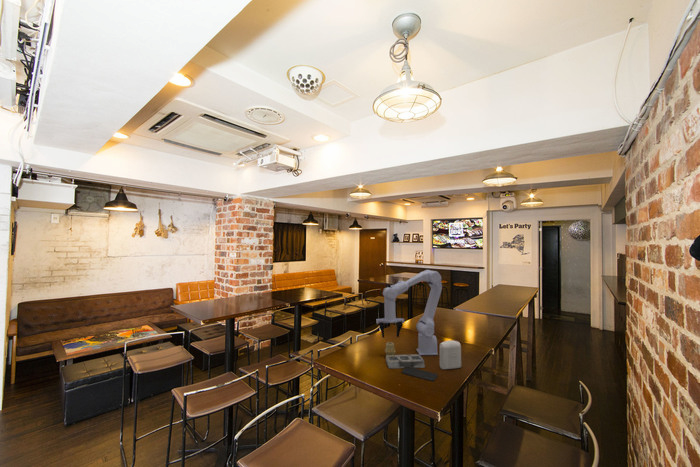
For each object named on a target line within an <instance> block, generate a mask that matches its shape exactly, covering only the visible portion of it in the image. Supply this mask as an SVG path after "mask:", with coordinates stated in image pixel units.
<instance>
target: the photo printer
mask: <svg viewBox="0 0 700 467" xmlns="http://www.w3.org/2000/svg"><path fill="white" fill-rule="evenodd" d="M438 351H439V368H440V369H441V370H451V369H459V368H460V369H461V368H462V345H461V343H460V342H459V341H458V340H444V341H443V342H440V343H439V350H438Z"/></svg>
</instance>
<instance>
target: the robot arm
mask: <svg viewBox="0 0 700 467" xmlns="http://www.w3.org/2000/svg"><path fill="white" fill-rule="evenodd" d="M420 282H426V283H427V284H428V286H429V287H430V291H429V294H428V299H427V301H426V306H425V309H424V313H423V315H422V316H421V317H420V318H419V320H418V322H417V323H416V327H415V328H416V330H417V331H418V338H417V339H418V340H417V341H418V343H417V344H418V348H416V351H417V353H418V354H420V356H438V355H439V354H438V339H437V336H436V335H434V334H435V322H434V317H435V315H436V314H435V313H436V312H437V306H438V303H439V299H440V298H441V294H442V290H443V283H442V276H441V274H440V273H439V272H438V271H437V270H431V269H425V270H424V271H421V272H419V273H417V274H415V275H414V276H413V277H411V278H408V279H407V280H406V281H405V280H398V282H397V283H394V284H391V285H390V287H389V286H388V287H385V288H383V291H382V295H383V297H384V317H382V318H376V325H378V327H379V329H380V330H381V331H380V332H381V337H382V338H384V339H385V324H395V326H396V327H395V328H396V337H397V338H399V337H400V332H401V330H402V327H403V324H404V323H405V318H404V317H403V318H402V317H397V315H396V299H397V296H400V295H401V294H403V293H405V292H407V291H408V290H409V288H410V287H412V286H414V285H417V284H418V283H420Z"/></svg>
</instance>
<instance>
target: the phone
mask: <svg viewBox="0 0 700 467" xmlns="http://www.w3.org/2000/svg"><path fill="white" fill-rule="evenodd" d="M401 374H402V375H406V376H410V377H413V378H418V379H421V380H426V381H428V382H436V379H438V377H439V375H438V374H437V373H436V372H431V371H427V370H423V369H421V368H420V369H419V368H412V367H405V368H402V370H401Z"/></svg>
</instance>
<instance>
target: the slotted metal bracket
mask: <svg viewBox="0 0 700 467" xmlns="http://www.w3.org/2000/svg"><path fill="white" fill-rule="evenodd" d="M385 362H386V365H387V367H388V369H404V368H405V367H412V368H416V369H419V368H420V369H421V368H425V360H424V359H423V357H422V355H420V354H419V353H418V354H394V355H386V354H385Z"/></svg>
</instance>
